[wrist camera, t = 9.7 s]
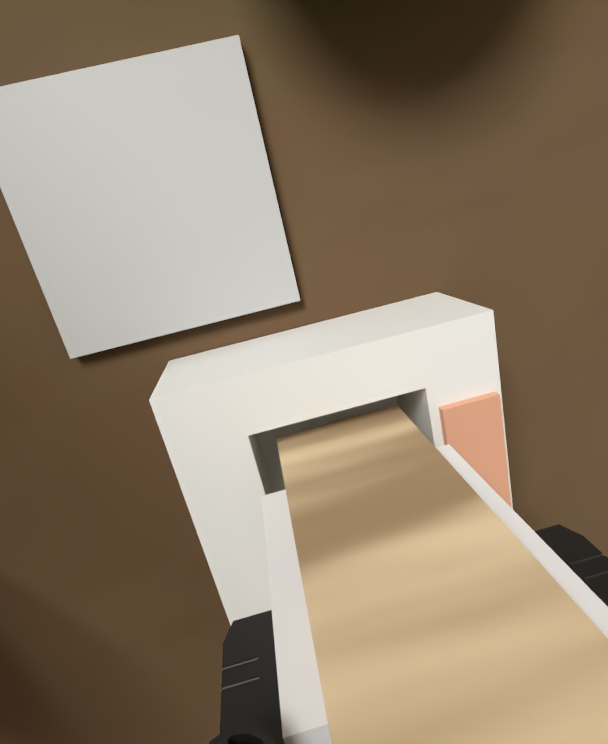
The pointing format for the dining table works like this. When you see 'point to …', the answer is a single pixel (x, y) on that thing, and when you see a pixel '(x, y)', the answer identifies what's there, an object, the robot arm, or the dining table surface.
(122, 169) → the mat
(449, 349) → the socket board
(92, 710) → the dining table surface
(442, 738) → the oak peg
